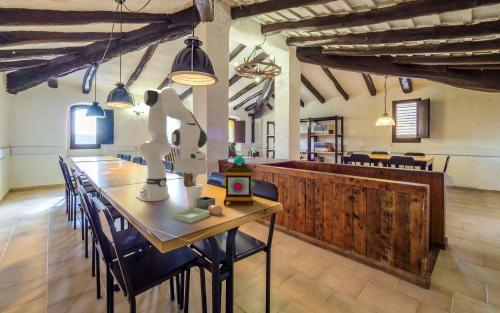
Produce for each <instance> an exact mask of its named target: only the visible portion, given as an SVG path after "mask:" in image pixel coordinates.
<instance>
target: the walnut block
mask: <svg viewBox="0 0 500 313" xmlns="http://www.w3.org/2000/svg"><path fill="white" fill-rule="evenodd" d="M191 179H193V173H187V174H184V177H183V186H184V187H185V188H186V187H193V186H196V184H197V181H196V182H191Z"/></svg>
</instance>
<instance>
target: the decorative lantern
mask: <svg viewBox="0 0 500 313" xmlns="http://www.w3.org/2000/svg"><path fill="white" fill-rule="evenodd" d="M253 170H254V169H253V168H252V167H251V166H249V165H247V163H246V162H245V158H244V157H243V156H242V155H237V156H236V157H234V160H233V164H231V165H230V166H228V167H227V168H226V169H225V171H224V172H223V174H224V175H225V178H224V180H223V186H225V196H224V198H223V205H224V206H225V207H226V206H227V203H228V202H229V203H231V202H236V203H237V202H238V203H240V202H241V203H242V202H243V203H246V202H247V203H249V205H250V207H253V204H254V203H253V202H254V199H253V198H254V194H253V192H252V188H254V187H255V186H256V183H255V181H254V180H252V175H253Z"/></svg>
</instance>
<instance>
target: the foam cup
mask: <svg viewBox="0 0 500 313" xmlns="http://www.w3.org/2000/svg"><path fill="white" fill-rule="evenodd" d="M203 187H204V186H203V184H202V183H196V186H193V187H185V188H186V189H185V190H186V194H187V203H188V208H190V207H194V208H197V199H198V198H202V194H203Z"/></svg>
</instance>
